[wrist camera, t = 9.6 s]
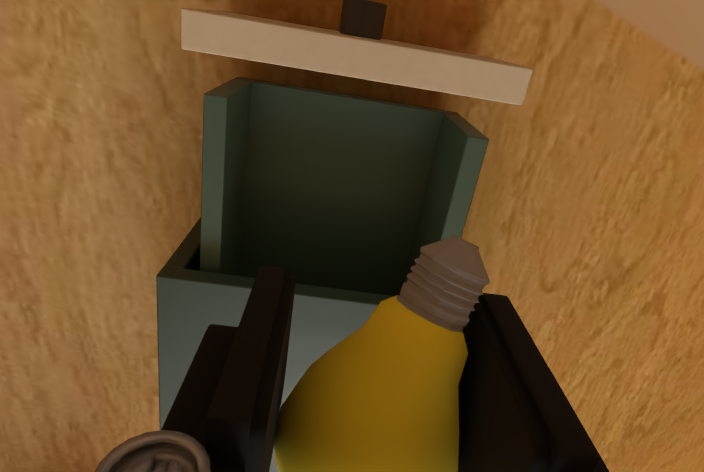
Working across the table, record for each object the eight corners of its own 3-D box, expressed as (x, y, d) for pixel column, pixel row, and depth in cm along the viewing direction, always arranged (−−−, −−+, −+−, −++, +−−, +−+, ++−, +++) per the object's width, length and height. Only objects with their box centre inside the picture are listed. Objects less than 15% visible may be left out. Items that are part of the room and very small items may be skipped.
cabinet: (210, 202, 24) (155, 275, 17) (444, 236, 25) (481, 317, 18) (203, 409, 30) (161, 524, 23) (392, 429, 31) (405, 545, 24)
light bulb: (280, 430, 11) (213, 531, 7) (389, 204, 10) (372, 197, 7) (407, 501, 11) (401, 643, 7) (529, 270, 10) (588, 300, 6)
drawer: (226, -21, 19) (180, -37, 14) (493, 27, 20) (546, 29, 15) (214, 283, 25) (179, 352, 20) (418, 309, 26) (437, 382, 21)
